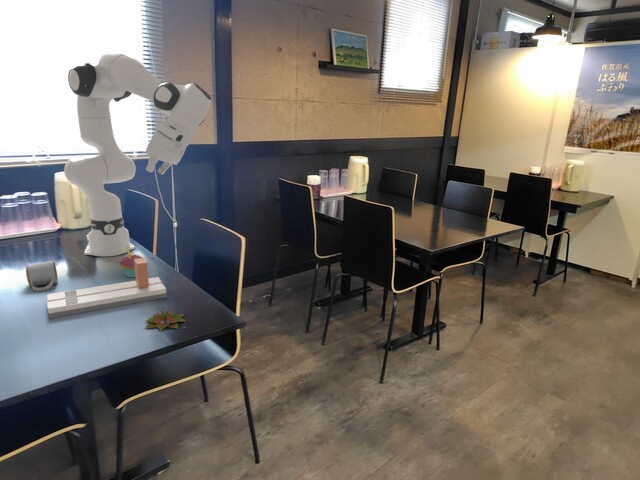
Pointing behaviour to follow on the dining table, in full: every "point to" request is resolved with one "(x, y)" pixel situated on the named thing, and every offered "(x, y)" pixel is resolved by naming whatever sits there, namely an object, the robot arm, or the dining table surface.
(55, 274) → the ceramic mug
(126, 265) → the cupcake
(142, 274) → the fader
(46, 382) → the dining table surface
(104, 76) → the robot arm
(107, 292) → the white slider track base
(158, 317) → the lily flower
